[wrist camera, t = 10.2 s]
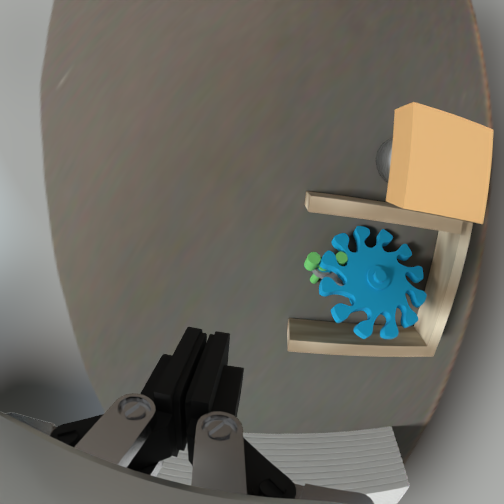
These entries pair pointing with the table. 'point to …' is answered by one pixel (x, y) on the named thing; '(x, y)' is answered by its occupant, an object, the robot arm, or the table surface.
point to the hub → (439, 163)
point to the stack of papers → (324, 461)
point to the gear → (368, 281)
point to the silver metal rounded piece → (384, 159)
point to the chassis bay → (437, 289)
